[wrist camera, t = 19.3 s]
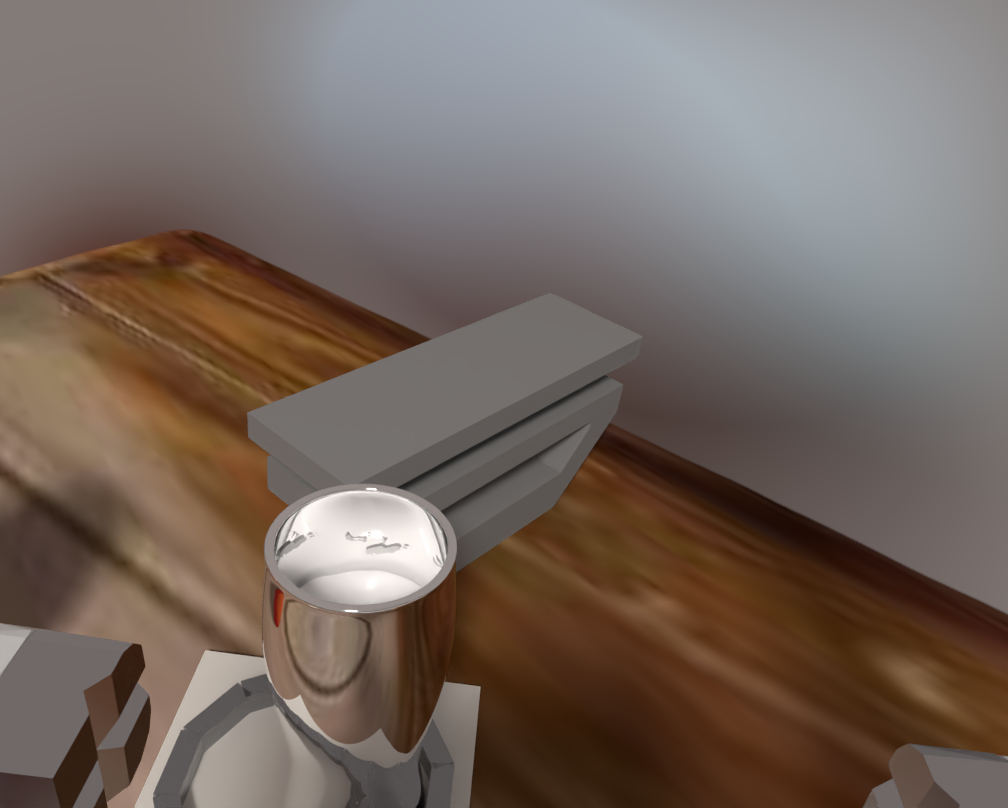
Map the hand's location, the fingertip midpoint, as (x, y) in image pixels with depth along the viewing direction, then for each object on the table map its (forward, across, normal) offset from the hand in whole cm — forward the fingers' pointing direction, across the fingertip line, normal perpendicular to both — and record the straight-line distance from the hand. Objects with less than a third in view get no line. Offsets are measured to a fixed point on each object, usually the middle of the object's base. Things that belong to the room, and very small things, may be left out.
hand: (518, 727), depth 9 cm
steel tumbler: (+16, +4, +28) cm, 32 cm away
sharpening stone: (+37, +2, +28) cm, 47 cm away
